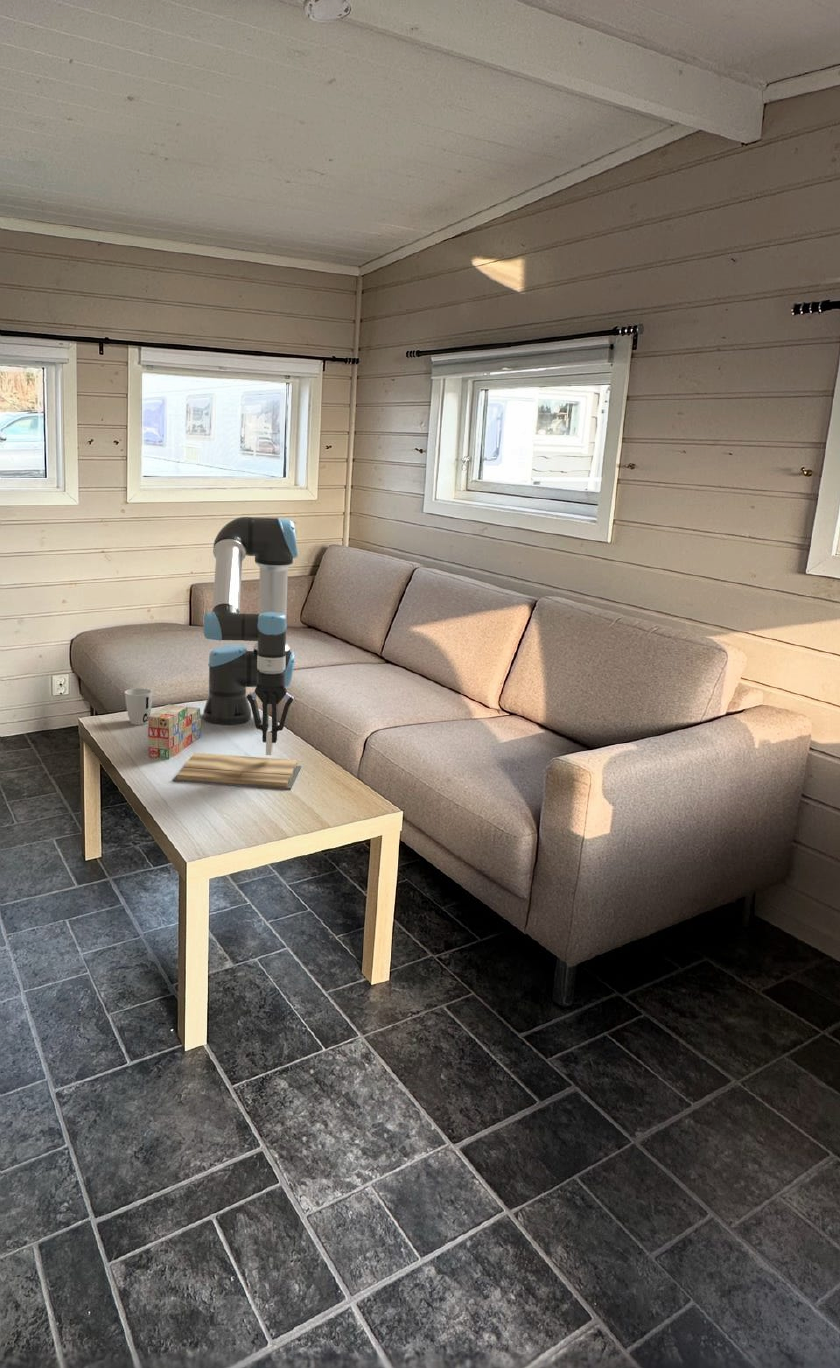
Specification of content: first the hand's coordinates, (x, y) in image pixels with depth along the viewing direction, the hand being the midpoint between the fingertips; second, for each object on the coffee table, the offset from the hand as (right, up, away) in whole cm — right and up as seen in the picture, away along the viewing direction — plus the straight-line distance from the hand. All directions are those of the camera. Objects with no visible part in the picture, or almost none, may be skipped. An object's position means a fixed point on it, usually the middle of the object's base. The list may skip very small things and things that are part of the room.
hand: (269, 753), depth 250 cm
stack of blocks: (-30, +1, +14) cm, 33 cm away
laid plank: (-8, -7, -10) cm, 14 cm away
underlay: (-7, -5, -5) cm, 10 cm away
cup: (-46, +7, +33) cm, 57 cm away
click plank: (-7, -4, -2) cm, 8 cm away
